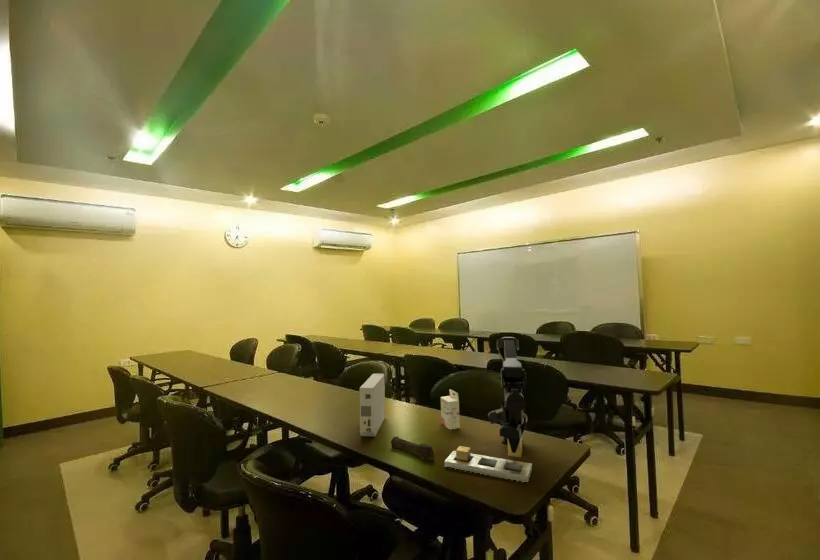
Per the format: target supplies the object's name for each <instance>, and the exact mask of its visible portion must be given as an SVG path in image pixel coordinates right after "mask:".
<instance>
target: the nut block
mask: <svg viewBox="0 0 820 560" xmlns="http://www.w3.org/2000/svg"><path fill="white" fill-rule="evenodd" d="M507 440H508V438H507ZM522 454H523V435H522V436H521V439H520V442H519V444H518V447H517V450H516V453H512V450H511V447H510V443H509V440H508V444H507V456H509V457H513V458H514V457H515V458H521V457H522Z"/></svg>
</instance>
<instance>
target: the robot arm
mask: <svg viewBox="0 0 820 560" xmlns="http://www.w3.org/2000/svg"><path fill="white" fill-rule="evenodd" d="M519 343H520V341H519V339H518V338H516V337H514V336H503V337H501V338H499V339H496V350H497V351H498V355H499V357H500V358H501V360H502V368H501V369H500V379H501V389H504V399H503V401H502V403H501V406H500V407H501V408H498V409H494V410H492V411H489V412H488V414H487V417H488V418H487V420H488V422H489V421H490V424H491V425H494V424H495V423H499V426H500V428H499V437H503V438H502V440H501V443H502V444H507V445H508V440H509V443H510V447H511V450H512V453H516V450H517V447H518V444H519V442H520V439H521V436H522V437H523V434H524V432H525V429H526V424H527V422H528V415H527V414H526V413H525V412H523V410H524V409H525V407H526V400H525V398H524V395H523V390H526V389H527V386H528V377H527V372H526V370H525V368H523V366H522V365H523V364H522V363H521V361H519V360H518V357H517V354H518V351H519V349H520V344H519ZM507 438H508V440H507Z"/></svg>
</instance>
